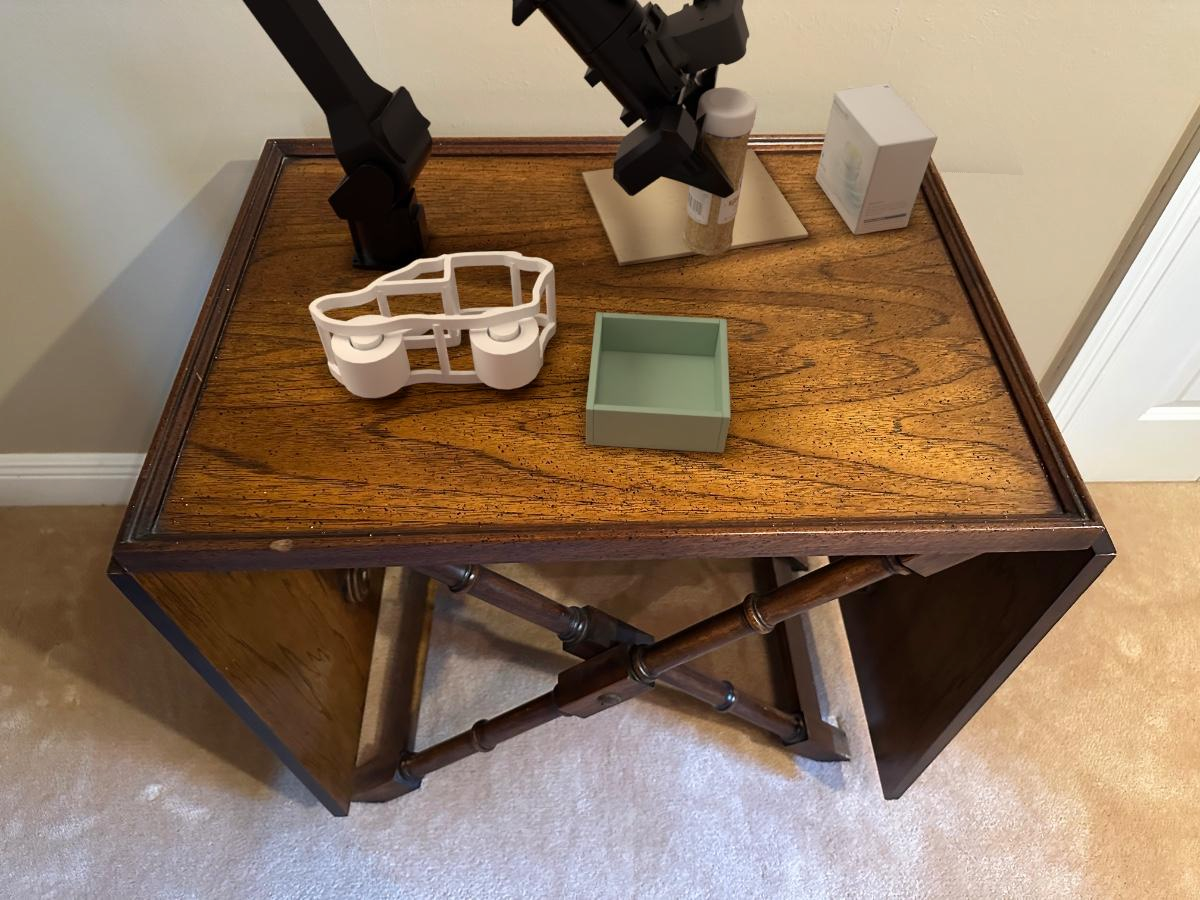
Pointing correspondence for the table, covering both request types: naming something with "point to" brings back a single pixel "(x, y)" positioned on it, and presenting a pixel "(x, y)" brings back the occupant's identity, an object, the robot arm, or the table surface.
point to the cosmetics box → (874, 157)
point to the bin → (659, 383)
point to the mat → (660, 214)
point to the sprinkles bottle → (728, 143)
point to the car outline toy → (439, 328)
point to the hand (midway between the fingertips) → (732, 179)
